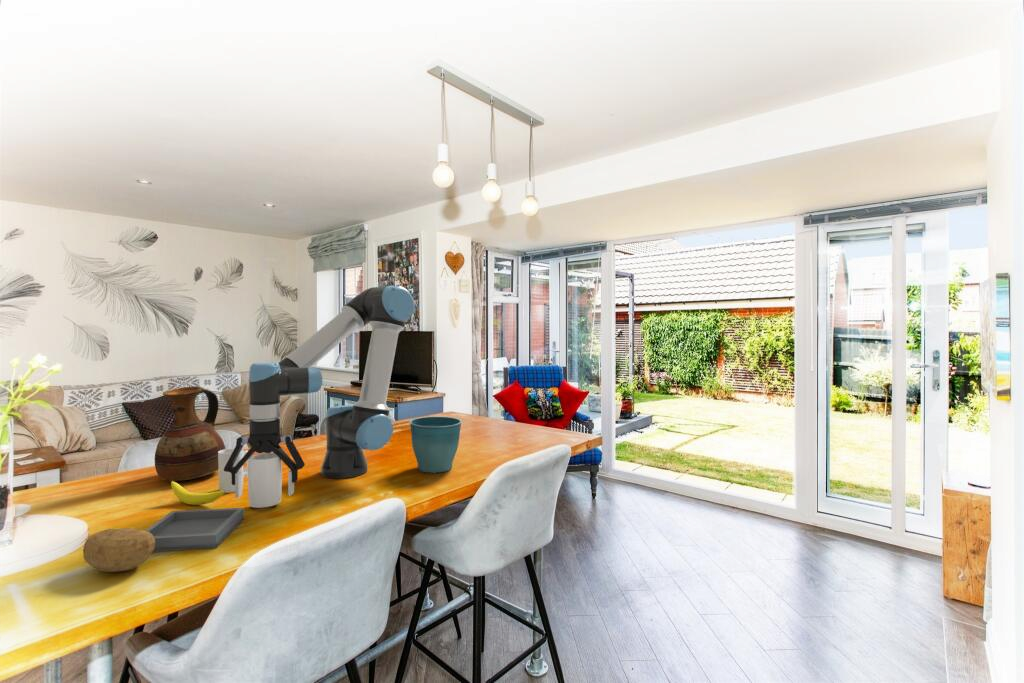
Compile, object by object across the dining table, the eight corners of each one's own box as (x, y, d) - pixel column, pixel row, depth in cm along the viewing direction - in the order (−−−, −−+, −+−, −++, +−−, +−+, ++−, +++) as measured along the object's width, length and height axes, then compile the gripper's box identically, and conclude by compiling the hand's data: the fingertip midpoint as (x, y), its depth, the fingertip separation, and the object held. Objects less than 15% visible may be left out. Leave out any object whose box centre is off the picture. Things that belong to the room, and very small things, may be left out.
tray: (244, 519, 128) (244, 507, 128) (216, 548, 112) (216, 534, 112) (172, 522, 126) (172, 511, 126) (132, 553, 109) (132, 539, 109)
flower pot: (471, 466, 178) (471, 419, 178) (438, 479, 163) (438, 428, 162) (433, 459, 188) (433, 414, 187) (398, 470, 173) (398, 422, 172)
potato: (113, 555, 108) (112, 519, 108) (168, 561, 105) (168, 524, 105) (65, 577, 98) (64, 537, 98) (125, 584, 96) (124, 544, 95)
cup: (259, 514, 131) (259, 461, 131) (241, 508, 136) (241, 457, 135) (288, 505, 139) (288, 455, 138) (270, 499, 143) (270, 450, 143)
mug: (228, 494, 147) (227, 454, 146) (213, 491, 150) (212, 452, 149) (258, 485, 156) (257, 447, 155) (243, 482, 159) (243, 444, 158)
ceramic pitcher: (140, 481, 159) (139, 388, 158) (200, 465, 177) (200, 381, 177) (181, 489, 151) (180, 391, 151) (240, 471, 170) (239, 384, 169)
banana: (220, 510, 134) (220, 487, 134) (165, 503, 139) (165, 481, 139) (229, 506, 137) (229, 484, 137) (175, 500, 142) (174, 478, 142)
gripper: (315, 415, 142) (315, 488, 143) (221, 417, 138) (222, 492, 139) (309, 420, 135) (309, 497, 135) (209, 422, 131) (210, 501, 131)
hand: (265, 495), depth 137 cm, fingers open, 13 cm apart
